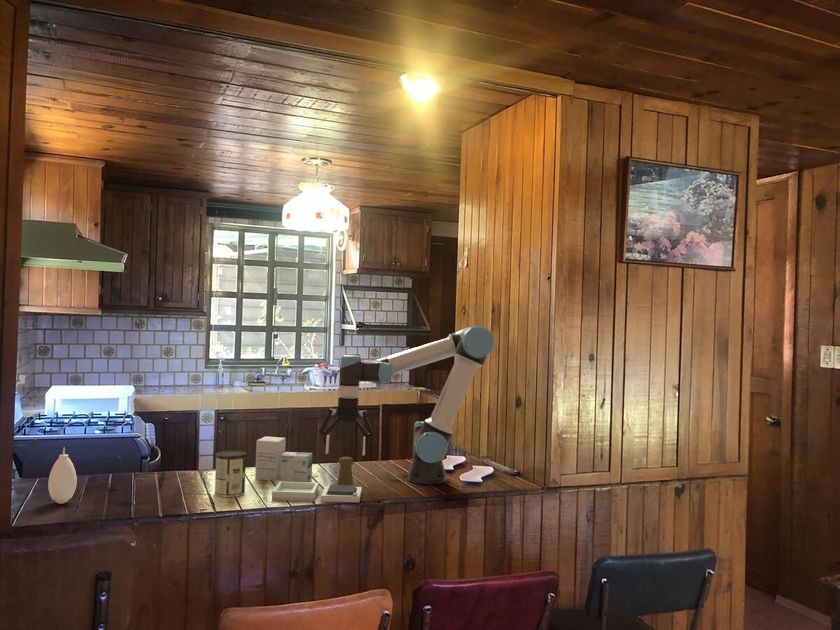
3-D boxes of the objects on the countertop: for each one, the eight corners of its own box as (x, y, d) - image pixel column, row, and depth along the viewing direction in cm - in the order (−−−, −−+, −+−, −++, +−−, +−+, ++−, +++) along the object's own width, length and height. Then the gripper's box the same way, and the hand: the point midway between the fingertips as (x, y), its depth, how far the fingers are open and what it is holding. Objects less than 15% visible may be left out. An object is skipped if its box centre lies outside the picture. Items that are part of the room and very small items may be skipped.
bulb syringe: (56, 507, 204) (58, 450, 204) (42, 503, 208) (45, 446, 209) (80, 502, 211) (82, 446, 211) (66, 498, 215) (69, 443, 215)
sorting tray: (318, 490, 236) (318, 482, 236) (313, 501, 222) (313, 492, 222) (279, 489, 236) (279, 481, 236) (271, 500, 222) (272, 491, 222)
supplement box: (263, 473, 258) (264, 436, 259) (285, 475, 257) (286, 437, 257) (254, 479, 249) (255, 439, 250) (276, 480, 248) (278, 441, 248)
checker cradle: (361, 492, 236) (361, 484, 236) (359, 502, 223) (359, 494, 223) (325, 491, 236) (325, 483, 236) (320, 501, 223) (321, 493, 223)
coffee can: (228, 488, 235) (229, 449, 235) (251, 492, 231) (252, 452, 231) (207, 494, 226) (209, 453, 226) (231, 499, 221) (232, 457, 221)
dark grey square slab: (355, 489, 234) (355, 485, 234) (353, 496, 225) (354, 491, 225) (330, 489, 234) (330, 484, 234) (327, 495, 225) (327, 491, 225)
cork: (337, 484, 246) (338, 455, 246) (353, 484, 246) (354, 455, 247) (336, 488, 240) (337, 458, 240) (353, 489, 240) (354, 459, 241)
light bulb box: (312, 480, 250) (313, 452, 251) (307, 485, 244) (308, 456, 244) (284, 479, 252) (285, 451, 252) (279, 483, 245) (280, 454, 245)
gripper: (382, 397, 248) (379, 453, 247) (316, 394, 247) (313, 450, 247) (381, 399, 240) (378, 457, 240) (313, 396, 239) (310, 454, 239)
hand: (345, 454), depth 243 cm, fingers open, 13 cm apart
